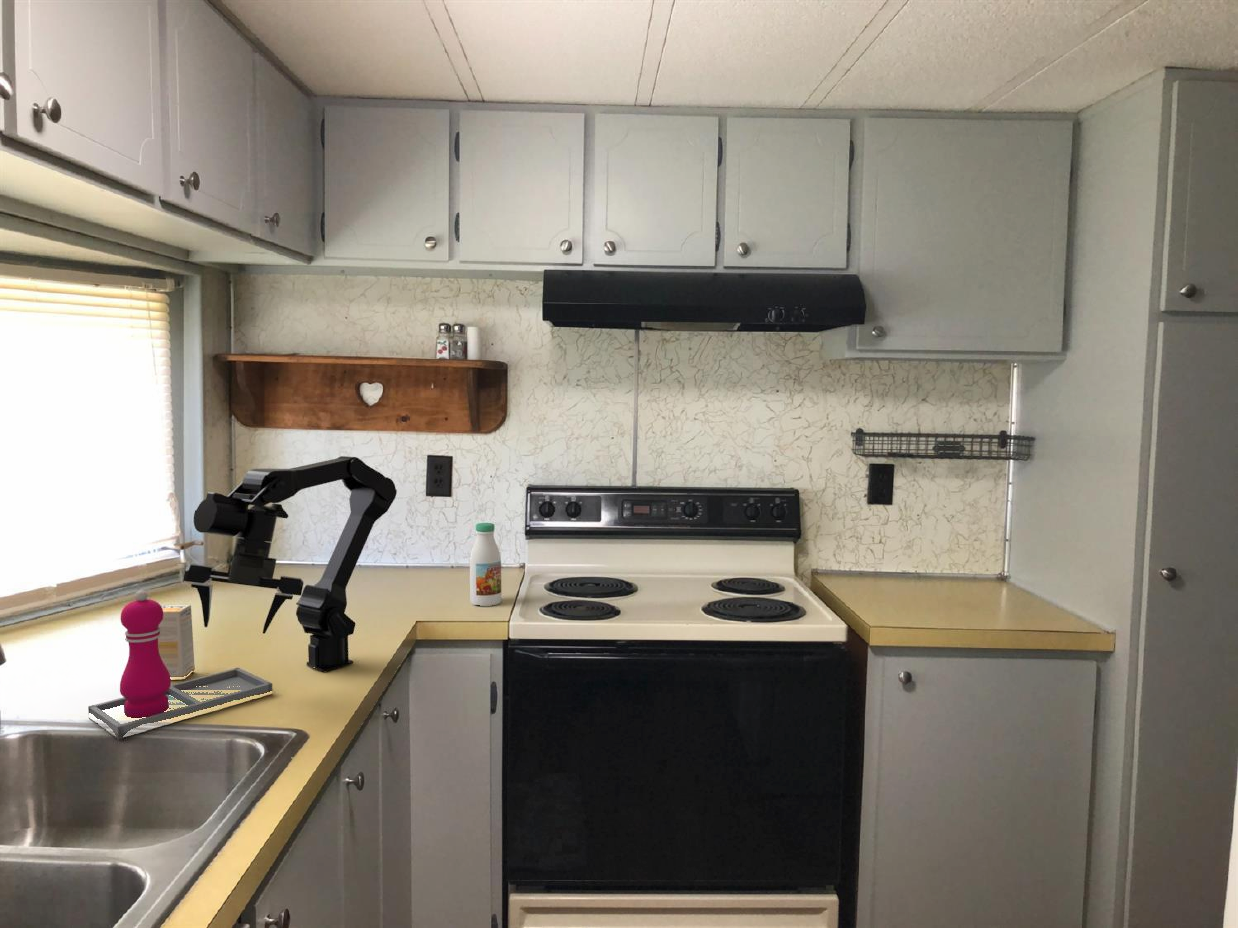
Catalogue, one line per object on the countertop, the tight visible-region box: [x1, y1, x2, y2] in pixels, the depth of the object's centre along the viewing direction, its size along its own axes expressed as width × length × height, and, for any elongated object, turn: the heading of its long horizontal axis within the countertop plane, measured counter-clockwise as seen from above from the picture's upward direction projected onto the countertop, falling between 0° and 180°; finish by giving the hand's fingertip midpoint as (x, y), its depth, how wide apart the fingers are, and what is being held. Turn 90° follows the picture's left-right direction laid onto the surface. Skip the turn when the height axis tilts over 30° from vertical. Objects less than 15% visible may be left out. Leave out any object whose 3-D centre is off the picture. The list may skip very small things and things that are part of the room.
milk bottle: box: [469, 522, 502, 607], centre depth 204 cm, size 8×8×20 cm
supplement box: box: [158, 604, 196, 677], centre depth 152 cm, size 8×5×13 cm, turn 92°
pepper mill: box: [119, 589, 172, 718], centre depth 133 cm, size 7×7×20 cm
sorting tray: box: [87, 667, 274, 741], centre depth 138 cm, size 24×13×2 cm, turn 140°
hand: (235, 630), depth 141 cm, fingers open, 9 cm apart
